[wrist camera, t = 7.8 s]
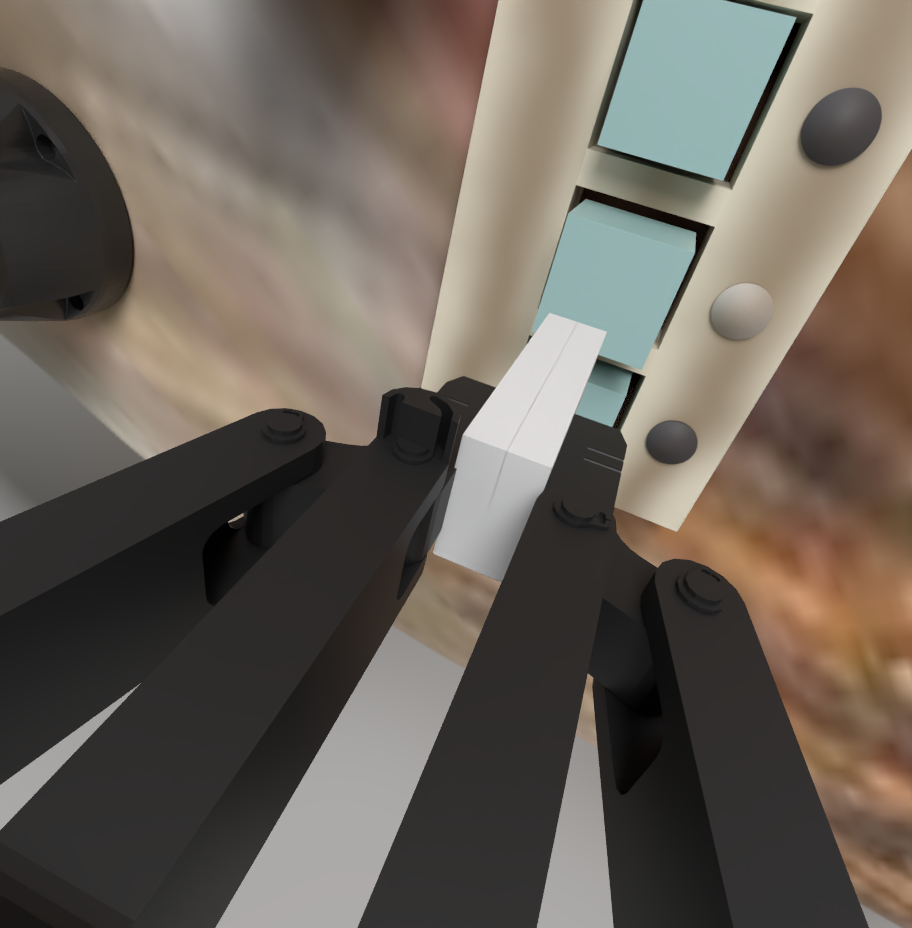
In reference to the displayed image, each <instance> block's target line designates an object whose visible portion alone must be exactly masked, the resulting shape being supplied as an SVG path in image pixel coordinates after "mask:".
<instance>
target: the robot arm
mask: <svg viewBox="0 0 912 928" xmlns="http://www.w3.org/2000/svg"><path fill="white" fill-rule="evenodd" d="M131 267H132V237H131V230H130V225H129V220H128V216H127V212H126V208H125V205H124V202H123V198H122V196H121V193H120V190H119V188H118V185H117V183H116V180H115V178H114V176H113V174H112V172H111V170H110V168H109V166H108V164H107V162H106V160H105V158H104V156H103V155H102V153H101V151H100V150H99V148H98V146H97V145H96V143H95V142H94V140H93V139H92V137H91V136H90V134H89V133H88V132H87V130H86V129H85V128H84V126H83V125H82V124H81V122H80V121H79V120H78V119H77V118H76V117H75V115H74V114H73V113H72V112H71V111H70V110H69V109H68V108H67V107H66V106H65V105H64V104H63V103H62V102H61V101H60V100H59V99H58V98H57V97H56V96H55V95H53V94H52V93H51V92H50V91H48V90H47V89H46V88H45V87H43V86H42V85H40V84H39V83H37V82H36V81H34V80H32V79H31V78H29V77H27V76H25V75H23V74H21V73H19V72H16V71H13V70H10V69H6V68H1V67H0V321H67V320H74V319H78V318H82V317H84V316H87V315H90V314H93V313H96V312H99V311H102V310H105V309H107V308H108V307H110V306H112V305H113V304H114V303H115V302H116V301H117V300H118V299H119V298H120V297H121V295H122V294H123V292H124V290H125V288H126V286H127V283H128V281H129V277H130V273H131ZM606 333H607V332H606V331H603V330H600V329H597V328H594V327H591V326H588V325H585V324H582V323H579V322H576V321H573V320H570V319H567V318H564V317H561V316H557V315H554V314H551V313H549V314H548V316H547V317H546V318H545V320H544V321H543V323H542V324H541V325H540V327H539V328H538V330H537V331H536V332H535V334H534V335H533V337H532V338H531V339H530V341H529V342H528V344H527V345H526V346H525V348H524V349H523V351H522V352H521V353H520V355H519V356H518V358H517V359H516V360H515V362H514V363H513V365H512V366H511V367H510V369H509V370H508V372H507V373H506V375H505V376H504V377H503V379H502V380H501V382H500V383H499V384H498V386H497V387H493V386H490V385H488V384H485V383H482V382H479V381H476V380H474V379H471V378H468V377H465V376H462V377H459V378H456V379H453V380H451V381H448V382H446V383H445V384H444V385H443V386H442V387H441V388H440V390H439V391H438V392H437V393H436V392H433V391H429V390H425V389H422V388H408V387H405V388H399V389H393V390H391V391H389V392H387V393H385V394H383V395H382V402H381V409H380V416H379V423H378V430H377V437H376V438H375V439H374V440H373V441H372V442H371V443H370V444H369V445H368V446H357V445H348V444H342V443H336V442H330V441H325V439H326V431H325V429H324V426H323V424H322V423H321V422H320V421H319V420H318V419H317V418H315V417H314V416H312V415H310V414H307V413H305V412H303V411H299V410H293V409H287V408H283V409H268V410H265V411H261V412H257V413H255V414H252V415H250V416H248V417H245V418H243V419H241V420H238V421H236V422H234V423H231V424H229V425H226V426H224V427H222V428H219V429H217V430H215V431H212V432H210V433H208V434H205V435H203V436H201V437H198V438H196V439H194V440H191V441H189V442H187V443H184V444H182V445H180V446H177V447H175V448H172V449H170V450H168V451H165V452H163V453H161V454H158V455H156V456H154V457H151V458H149V459H147V460H144V461H142V462H140V463H137V464H135V465H133V466H131V467H128V468H125V469H123V470H121V471H118V472H116V473H114V474H111V475H110V476H107V477H104V478H102V479H100V480H97V481H95V482H93V483H90V484H88V485H86V486H83V487H81V488H78V489H76V490H74V491H71V492H69V493H67V494H64V495H62V496H60V497H57V498H55V499H53V500H50V501H49V502H46V503H44V504H41V505H39V506H36V507H34V508H32V509H29V510H27V511H24V512H22V513H20V514H17V515H15V516H13V517H11V518H8V519H6V520H3V521H1V522H0V784H2V783H3V782H5V781H6V780H7V779H9V778H10V777H12V776H13V775H14V774H16V773H17V772H19V771H20V770H21V769H23V768H24V767H25V766H27V765H28V764H29V763H31V762H32V761H34V760H35V759H36V758H38V757H39V756H40V755H42V754H43V753H45V752H46V751H48V750H49V749H50V748H52V747H53V746H54V745H56V744H57V743H59V742H60V741H61V740H62V739H64V738H65V737H67V736H68V735H70V734H71V733H72V732H74V731H75V730H77V729H78V728H79V727H80V726H82V725H83V724H85V723H86V722H88V721H89V720H90V719H92V718H93V717H94V716H96V715H97V714H99V713H100V712H101V711H103V710H104V709H106V708H107V707H108V706H110V705H111V704H112V703H114V702H115V701H117V700H118V699H119V698H121V697H122V696H124V695H125V694H126V693H127V692H129V691H130V690H132V689H133V688H134V687H136V686H137V685H139V684H140V683H141V682H142V683H141V684H140V685H139V686H138V687H137V688H136V689H135V690H134V691H133V692H132V693H131V694H130V695H129V696H128V697H127V699H126V700H125V701H124V702H123V703H122V704H121V705H120V706H119V707H118V708H117V709H116V710H115V711H114V712H113V713H112V714H111V715H110V717H109V718H108V719H107V720H105V722H104V723H103V724H102V725H101V726H100V727H99V728H98V729H97V730H96V731H95V732H94V733H93V734H92V735H91V736H90V737H89V738H88V739H87V740H86V742H85V743H83V745H82V746H81V747H80V748H79V749H78V750H77V751H76V752H75V753H74V754H73V755H72V756H71V757H70V758H69V759H68V760H67V761H66V762H65V764H63V765H62V767H61V768H60V769H59V770H58V771H57V772H56V773H55V774H54V775H53V776H52V777H51V778H50V779H49V780H48V781H47V782H46V783H45V784H44V785H43V787H42V788H40V790H39V791H38V792H37V793H36V794H35V795H34V796H33V797H32V798H31V799H30V800H29V801H28V802H27V803H26V804H25V805H24V806H23V807H22V808H21V809H20V810H19V811H18V813H17V814H16V815H15V816H14V817H13V818H12V819H11V820H10V821H9V822H8V823H7V824H6V825H5V826H4V827H3V828H2V829H1V830H0V928H215V927H216V925H217V924H218V922H219V920H220V918H221V917H222V915H223V913H224V912H225V910H226V908H227V907H228V905H229V903H230V901H231V899H232V898H233V896H234V895H235V893H236V891H237V890H238V888H239V886H240V884H241V883H242V881H243V879H244V878H245V876H246V874H247V872H248V871H249V869H250V867H251V866H252V864H253V862H254V860H255V859H256V857H257V855H258V854H259V852H260V850H261V848H262V847H263V845H264V843H265V842H266V840H267V838H268V836H269V835H270V833H271V831H272V830H273V828H274V826H275V824H276V822H277V821H278V819H279V818H280V816H281V814H282V812H283V811H284V809H285V807H286V806H287V804H288V802H289V800H290V799H291V797H292V795H293V794H294V792H295V790H296V788H297V787H298V785H299V783H300V782H301V780H302V778H303V776H304V775H305V773H306V771H307V770H308V768H309V766H310V764H311V763H312V761H313V759H314V758H315V756H316V754H317V752H318V751H319V749H320V747H321V746H322V744H323V742H324V741H325V739H326V737H327V735H328V734H329V732H330V730H331V728H332V727H333V725H334V723H335V722H336V720H337V718H338V717H339V714H340V713H341V711H342V709H343V708H344V706H345V704H346V703H347V701H348V699H349V698H350V696H351V694H352V693H353V691H354V689H355V687H356V686H357V684H358V682H359V680H360V679H361V677H362V675H363V674H364V672H365V670H366V669H367V667H368V665H369V663H370V662H371V660H372V658H373V657H374V655H375V653H376V651H377V650H378V648H379V646H380V645H381V643H382V641H383V639H384V638H385V636H386V634H387V633H388V631H389V629H390V627H391V626H392V624H393V622H394V621H395V619H396V617H397V616H398V614H399V612H400V610H401V609H402V607H403V605H404V604H405V602H406V600H407V598H408V597H409V595H410V593H411V592H412V590H413V588H414V586H415V585H416V583H417V581H418V580H419V578H420V576H421V574H422V572H423V569H424V565H425V561H426V557H427V553H428V551H429V550H430V548H431V546H432V545H433V543H434V541H435V540H436V543H435V547H434V551H433V554H435V555H438V556H440V557H443V558H445V559H447V560H450V561H452V562H454V563H457V564H459V565H462V566H464V567H466V568H469V569H471V570H474V571H476V572H478V573H481V574H483V575H486V576H488V577H490V578H493V579H495V580H498V581H500V582H502V583H501V585H500V588H499V590H498V592H497V595H496V597H495V600H494V602H493V604H492V607H491V609H490V612H489V614H488V616H487V619H486V621H485V624H484V626H483V628H482V631H481V633H480V636H479V638H478V640H477V643H476V645H475V648H474V650H473V652H472V655H471V657H470V659H469V662H468V664H467V667H466V669H465V671H464V674H463V676H462V679H461V681H460V684H459V686H458V688H457V691H456V693H455V695H454V698H453V700H452V703H451V705H450V707H449V710H448V712H447V715H446V717H445V720H444V722H443V724H442V727H441V729H440V732H439V734H438V736H437V739H436V741H435V743H434V746H433V748H432V751H431V753H430V755H429V758H428V760H427V763H426V765H425V767H424V770H423V772H422V775H421V777H420V780H419V782H418V784H417V787H416V789H415V791H414V794H413V796H412V799H411V801H410V803H409V806H408V809H407V811H406V813H405V815H404V818H403V820H402V823H401V825H400V827H399V830H398V832H397V835H396V837H395V839H394V842H393V844H392V847H391V849H390V851H389V854H388V856H387V858H386V861H385V863H384V866H383V868H382V870H381V873H380V875H379V878H378V880H377V883H376V885H375V887H374V890H373V892H372V895H371V897H370V899H369V902H368V904H367V907H366V909H365V911H364V914H363V916H362V918H361V921H360V923H359V926H358V928H537V923H538V918H539V912H540V908H541V903H542V898H543V893H544V888H545V883H546V878H547V872H548V868H549V863H550V858H551V853H552V848H553V843H554V838H555V833H556V828H557V823H558V818H559V812H560V808H561V803H562V798H563V793H564V788H565V783H566V778H567V773H568V768H569V763H570V758H571V753H572V748H573V743H574V738H575V733H576V729H577V724H578V719H579V714H580V709H581V704H582V699H583V694H584V689H585V684H586V679H587V674H590V675H591V676H592V677H593V686H592V688H593V699H594V711H595V722H596V733H597V744H598V755H599V767H600V778H601V789H602V800H603V811H604V823H605V834H606V845H607V856H608V867H609V879H610V889H611V901H612V912H613V923H614V928H869V927H868V924H867V921H866V919H865V916H864V914H863V911H862V908H861V906H860V903H859V901H858V898H857V895H856V893H855V890H854V887H853V885H852V882H851V880H850V877H849V874H848V872H847V869H846V867H845V864H844V861H843V859H842V856H841V854H840V851H839V848H838V846H837V843H836V840H835V838H834V835H833V833H832V830H831V827H830V825H829V822H828V820H827V817H826V814H825V812H824V809H823V807H822V804H821V801H820V799H819V796H818V793H817V791H816V788H815V786H814V783H813V780H812V778H811V775H810V773H809V770H808V767H807V765H806V762H805V760H804V757H803V754H802V752H801V749H800V747H799V744H798V741H797V739H796V736H795V733H794V731H793V728H792V726H791V723H790V720H789V718H788V715H787V713H786V710H785V707H784V705H783V702H782V700H781V697H780V694H779V692H778V689H777V686H776V684H775V681H774V679H773V676H772V673H771V671H770V668H769V666H768V663H767V660H766V658H765V655H764V653H763V650H762V647H761V645H760V642H759V639H758V637H757V634H756V632H755V629H754V626H753V624H752V621H751V619H750V616H749V613H748V611H747V608H746V606H745V603H744V601H743V600H742V598H741V596H740V595H739V593H738V591H737V590H736V589H735V588H734V587H733V586H732V585H731V584H730V583H729V582H728V581H727V580H726V579H725V578H724V577H723V576H722V575H720V574H718V573H717V572H715V571H714V570H712V569H710V568H709V567H707V566H705V565H702V564H699V563H696V562H694V561H691V560H683V559H672V560H669V561H665V562H662V564H661V565H660V566H659V567H658V568H657V567H655V566H654V565H652V564H651V563H649V562H648V561H646V560H644V559H643V558H641V557H640V556H639V555H637V554H636V553H635V552H633V551H632V550H631V549H630V548H629V547H628V546H627V545H626V544H625V543H624V542H623V541H622V540H621V539H620V537H619V536H618V534H617V532H616V521H615V518H614V516H613V511H614V506H615V501H616V496H617V492H618V487H619V482H620V478H621V472H622V468H623V463H624V462H623V461H624V459H625V454H626V449H627V444H626V442H625V439H624V437H623V435H622V433H621V431H620V430H619V429H616V428H613V427H610V426H608V425H605V424H602V423H599V422H596V421H594V420H591V419H588V418H585V417H582V416H580V415H577V414H576V412H577V409H578V406H579V404H580V401H581V399H582V396H583V393H584V391H585V388H586V385H587V383H588V380H589V378H590V375H591V372H592V370H593V367H594V365H595V362H596V359H597V357H598V354H599V351H600V349H601V346H602V344H603V341H604V338H605V336H606ZM242 513H244V516H243V517H241V518H239V519H238V520H236V521H233V522H230V523H228V521H230V520H232V519H233V518H235V517H237V516H239V515H240V514H242ZM436 538H437V539H436Z"/></svg>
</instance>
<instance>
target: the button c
mask: <svg viewBox="0 0 912 928" xmlns="http://www.w3.org/2000/svg"><path fill="white" fill-rule="evenodd" d="M796 18H797V17H793V16H788V15H784V14H780V13H776V12H771V11H767V10H763V9H759V8H754V7H750V6H746V5H742V4H737V3H733V2H729V1H725V0H643V3H642V6H641V9H640V12H639V15H638V18H637V22H636V25H635V28H634V31H633V34H632V37H631V40H630V43H629V47H628V50H627V53H626V56H625V59H624V62H623V65H622V69H621V72H620V75H619V78H618V81H617V84H616V87H615V91H614V94H613V97H612V100H611V103H610V106H609V109H608V113H607V116H606V119H605V122H604V125H603V128H602V131H601V135H600V138H599V141H598V144H597V145H600V146H604V147H607V148H610V149H614V150H617V151H621V152H624V153H628V154H631V155H635V156H638V157H642V158H645V159H649V160H652V161H656V162H659V163H663V164H666V165H670V166H673V167H676V168H680V169H683V170H687V171H690V172H694V173H697V174H701V175H704V176H708V177H711V178H715V179H718V180H722V181H723V180H724V178H725V176H726V173H727V171H728V169H729V167H730V164H731V162H732V160H733V158H734V156H735V153H736V151H737V149H738V147H739V144H740V142H741V140H742V138H743V136H744V133H745V131H746V129H747V127H748V124H749V122H750V120H751V118H752V116H753V113H754V111H755V109H756V107H757V105H758V102H759V100H760V98H761V96H762V93H763V91H764V89H765V87H766V85H767V82H768V80H769V78H770V76H771V73H772V71H773V69H774V67H775V65H776V62H777V60H778V58H779V56H780V53H781V51H782V49H783V47H784V45H785V42H786V40H787V38H788V36H789V33H790V31H791V29H792V27H793V25H794V22H795V20H796Z"/></svg>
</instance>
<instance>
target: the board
mask: <svg viewBox="0 0 912 928" xmlns="http://www.w3.org/2000/svg"><path fill="white" fill-rule="evenodd" d="M725 1H729V2H733V3H737V4H742V5H746V6H750V7H754V8H759V9H763V10H767V11H771V12H776V13H780V14H784V15H788V16H793V17H797V18H796V20H795V22H796V23H801V26H800V28H799V31H798V33H797V35H796V37H795V39H794V41H793V44H792V46H791V48H790V50H789V52H788V55H787V57H786V59H785V61H784V63H783V66H782V68H781V70H780V72H779V74H778V76H777V79H776V81H775V83H774V85H773V87H772V90H771V92H770V94H769V96H768V98H767V101H766V103H765V105H764V107H763V109H762V112H761V114H760V116H759V118H758V120H757V122H756V125H755V127H754V129H753V131H752V133H751V136H750V138H749V140H748V142H747V144H746V147H745V149H744V151H743V153H742V155H741V158H740V160H739V162H738V164H737V166H736V168H735V171H734V173H733V175H732V177H731V179H730V182H727V181H722V180H718V179H715V178H711V177H708V176H704V175H701V174H697V173H694V172H690V171H687V170H683V169H680V168H676V167H673V166H670V165H666V164H663V163H659V162H656V161H652V160H649V159H645V158H642V157H638V156H635V155H631V154H628V153H624V152H621V151H617V150H614V149H610V148H607V147H604V146H600V145H597V144H598V141H599V138H600V135H601V131H602V128H603V125H604V122H605V119H606V116H607V113H608V109H609V106H610V103H611V100H612V97H613V94H614V91H615V87H616V84H617V81H618V78H619V75H620V72H621V69H622V65H623V62H624V59H625V56H626V53H627V50H628V47H629V43H630V40H631V37H632V34H633V31H634V28H635V25H636V22H637V18H638V15H639V12H640V9H641V6H642V3H643V0H499V1H498V6H497V11H496V16H495V21H494V26H493V31H492V36H491V41H490V46H489V51H488V56H487V61H486V66H485V71H484V76H483V81H482V86H481V91H480V96H479V101H478V106H477V111H476V116H475V121H474V126H473V131H472V136H471V141H470V146H469V151H468V156H467V161H466V166H465V171H464V176H463V181H462V186H461V191H460V196H459V201H458V206H457V211H456V216H455V221H454V226H453V231H452V236H451V241H450V246H449V251H448V256H447V261H446V265H445V270H444V275H443V280H442V285H441V290H440V295H439V300H438V305H437V310H436V315H435V320H434V325H433V330H432V335H431V340H430V345H429V350H428V355H427V360H426V365H425V370H424V375H423V380H422V385H421V388H422V389H425V390H429V391H433V392H436V393H437V392H438V391H439V390H440V388H441V387H442V386H443V385H444V384H445V383H446V382H448V381H451V380H453V379H456V378H459V377H462V376H465V377H468V378H471V379H474V380H476V381H479V382H482V383H485V384H488V385H490V386H493V387H497V386H498V384H499V383H500V382H501V380H502V379H503V377H504V376H505V375H506V373H507V372H508V370H509V369H510V367H511V366H512V365H513V363H514V362H515V360H516V359H517V358H518V356H519V355H520V353H521V352H522V351H523V349H524V348H525V346H526V345H527V344H528V342H529V341H530V339H531V338H532V337H533V335H534V334H535V332H532V329H533V325H534V322H535V319H536V316H537V313H538V309H539V306H540V303H541V300H542V297H543V293H544V290H545V287H546V284H547V281H548V277H549V274H550V271H551V268H552V265H553V261H554V258H555V255H556V252H557V248H558V245H559V242H560V239H561V236H562V232H563V229H564V226H565V223H566V220H567V216H568V213H569V212H571V211H572V210H573V209H574V208H576V207H577V206H578V205H579V202H580V199H581V196H582V192H583V189H584V188H588V189H591V190H594V191H598V192H601V193H604V194H608V195H611V196H614V197H617V198H621V199H624V200H627V201H631V202H634V203H637V204H641V205H644V206H647V207H651V208H654V209H657V210H660V211H664V212H667V213H670V214H674V215H677V216H680V217H684V218H687V219H690V220H694V221H697V222H700V223H704V224H707V225H709V228H708V230H707V232H706V234H705V236H704V239H703V241H702V243H701V245H700V247H699V249H698V252H697V254H696V256H695V258H694V260H693V263H692V265H691V267H690V269H689V271H688V274H687V276H686V278H685V280H684V282H683V284H682V287H681V289H680V291H679V293H678V295H677V298H676V300H675V302H674V304H673V306H672V309H671V311H670V313H669V315H668V317H667V320H666V322H665V324H664V326H663V328H662V330H661V329H660V331H659V333H658V335H657V337H656V340H655V342H654V344H653V346H652V348H651V351H650V353H649V355H648V357H647V359H646V362H645V364H644V366H643V368H642V370H640V369H637V368H634V367H632V366H629V365H626V364H623V363H620V362H617V361H615V360H612V359H609V358H606V357H603V356H600V355H598V357H597V359H599V360H601V361H604V362H607V363H610V364H613V365H616V366H618V367H621V368H624V369H627V370H630V371H633V372H635V373H638V374H641V376H640V379H639V381H638V383H637V385H636V387H635V390H634V392H633V394H632V396H631V398H630V401H629V403H628V405H627V407H626V409H625V411H624V414H623V416H622V418H621V420H620V422H619V425H618V427H617V429H619V430H620V431H621V433H622V435H623V437H624V439H625V442H626V444H627V449H626V454H625V459H624V461H623V462H624V463H623V468H622V472H621V478H620V482H619V487H618V492H617V496H616V501H615V506H614V507H615V508H618V509H620V510H623V511H625V512H628V513H631V514H633V515H636V516H638V517H641V518H643V519H646V520H648V521H651V522H653V523H656V524H658V525H661V526H663V527H666V528H668V529H671V530H674V531H676V532H677V531H678V529H679V528H680V526H681V525H682V523H683V521H684V520H685V518H686V516H687V515H688V513H689V511H690V510H691V508H692V507H693V505H694V503H695V502H696V500H697V498H698V497H699V495H700V493H701V492H702V490H703V489H704V487H705V485H706V484H707V482H708V480H709V479H710V477H711V475H712V474H713V472H714V471H715V469H716V467H717V466H718V464H719V462H720V461H721V459H722V458H723V456H724V454H725V453H726V451H727V449H728V448H729V446H730V444H731V443H732V441H733V440H734V438H735V436H736V435H737V433H738V431H739V430H740V428H741V426H742V425H743V423H744V422H745V420H746V418H747V417H748V415H749V413H750V412H751V410H752V409H753V407H754V405H755V404H756V402H757V400H758V399H759V397H760V395H761V394H762V392H763V391H764V389H765V387H766V386H767V384H768V382H769V381H770V379H771V377H772V376H773V374H774V373H775V371H776V369H777V368H778V366H779V364H780V363H781V361H782V359H783V358H784V356H785V355H786V353H787V351H788V350H789V348H790V346H791V345H792V343H793V342H794V340H795V338H796V337H797V335H798V333H799V332H800V330H801V328H802V327H803V325H804V324H805V322H806V320H807V319H808V317H809V315H810V314H811V312H812V310H813V309H814V307H815V306H816V304H817V302H818V301H819V299H820V297H821V296H822V294H823V293H824V291H825V289H826V288H827V286H828V284H829V283H830V281H831V279H832V278H833V276H834V275H835V273H836V271H837V270H838V268H839V266H840V265H841V263H842V261H843V260H844V258H845V257H846V255H847V253H848V252H849V250H850V248H851V247H852V245H853V244H854V242H855V240H856V239H857V237H858V235H859V234H860V232H861V230H862V229H863V227H864V226H865V224H866V222H867V221H868V219H869V217H870V216H871V214H872V212H873V211H874V209H875V208H876V206H877V204H878V203H879V201H880V199H881V198H882V196H883V194H884V193H885V191H886V190H887V188H888V186H889V185H890V183H891V181H892V180H893V178H894V177H895V175H896V173H897V172H898V170H899V168H900V167H901V165H902V163H903V162H904V160H905V159H906V157H907V155H908V154H909V152H910V150H911V149H912V0H725Z"/></svg>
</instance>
